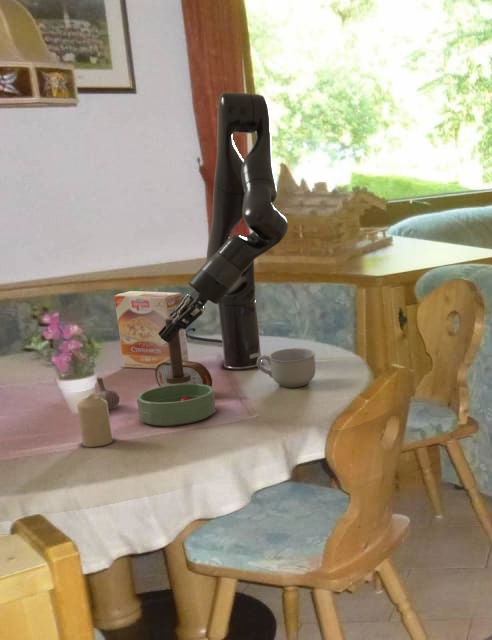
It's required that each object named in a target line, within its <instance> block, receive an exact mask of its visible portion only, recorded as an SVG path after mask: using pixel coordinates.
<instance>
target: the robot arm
mask: <svg viewBox="0 0 492 640" xmlns="http://www.w3.org/2000/svg"><path fill="white" fill-rule="evenodd" d="M216 114H217V117H216V119H217V120H216V121H217V122H216V126H217V127H216V128H217V130H216V132H217V133H216V135H217V136H216V137H217V138H216V139H217V140H216V141H217V142H216V145H217V147H216V160H215V169H214V170H215V171H214V179H213V190H212V191H213V193H212V200H213V201H212V216H211V225H210V229H209V230H210V231H209V236H208V241H207V247H206V248H207V249H206V262H204V264H203V265H202V266H201V267H200V268H199V270H197V272H196V273H195V274H194V275H193V276H192V277H191V278H190V280H189V281H188V285H189V286H190V287H191V288H193V291H192V292H191V293H190V294H186V295H184V296H181V298H182V299H181V301H180V302H179V303H178V305H177V306H176V308H175V309H174V311H173V312H172V313H171V314H170V318H175V319H174V320H173V321H172V323H171V324H170V325H169V326H168V327H167V328H166V325H165V326H164V327H163V328H162V329H161V330H160V332H159V333H158V334H159V336H160V337H161V339H163V340H164V341H166V342H170V341H171V340H172V339H173V338H174V336H175V335H176V334H177V333H178V332H179V331H180V330H182V329H185V330H186V329H187V330H186V331H185V332H186V338H188V339H190V340H196V341H202V342H210V343H219V344H221V345H222V353H223V361H224V362H223V363H224V364H223V367H224V368H225V369H227V370H232V371H237V370H238V371H241V370H250V369H255V368H258V366H257V359H258V358H259V357H260V356H262V353H261V342H260V331H259V321H258V311H257V302H256V278H255V277H256V275H255V260H256V259H257V258H258V257H260V256H262V255H264V254H265V253H266V252H268V251H269V250H271V249H272V248H274V247H275V246H277V245H278V244H279V243H280V242H282V240H283V239H284V238H285V236H286V235H287V233H288V229H289V222H288V220H287V218H286V217H285V216H284V215H283V214H281V213H280V211H278V210H277V208H275V207H274V205H273V203H274V202H275V201H276V200H277V196H278V191H277V190H278V189H277V184H276V179H275V175H274V169H273V161H272V159H273V158H272V157H273V156H272V133H271V115H270V108H269V104H268V101H267V99H266V97H264V95H262V94H258V93H257V94H256V93H248V92H234V91H224V92H222V93H221V94H220V95H219V97H218V102H217V113H216ZM235 133H237V134H253V135H254V134H256V138H255V141H254V143H253V146H252V147H251V149H250V151H249V152H248V154H247V155H246V156H245V158H244V159H243V158H242V155H241V154H240V153H239V151H238V148H237V147H236V145H235V142H234V140H233V134H235ZM242 220H243V221H244V223H245V225H246V227H248V228H249V230H251V231H252V232H251V233H249V234H248V235H246V236H241V235H238V234H232V233H233V231H234V229H235V228H236V227H237V226H238V225H239V223H240V222H241V221H242ZM208 301H209V302H211V303H212V304H214V305H217V306H218V307H217V308H218V316H219V325H220V334H221V339H217V338H207V337H201V336H194V335H190V332H191V331H192V332H195V331H196V328H195V326H191V324H193V322H195V321H196V320H197V319H198V318H200V317H201V316H202V315H203V312H204V310H205V305H206V304H207V302H208ZM172 324H173V325H172ZM189 326H190V327H189ZM188 327H189V328H188ZM179 329H180V330H179ZM261 364H262V365H263V359H262V360H261Z"/></svg>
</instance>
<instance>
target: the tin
mask: <svg viewBox="0 0 492 640" xmlns="http://www.w3.org/2000/svg"><path fill="white" fill-rule="evenodd" d="M182 362H183V371H184V373H189V374H190V375H191V380H190V381H188V382H185V383H179V384H189V383H192V384H203V385H208V386H211V387H213V378H212V374H211V372H210V371H209V370H208V368H207V366H205V365H204V364H203V363H200V362H198V361H191V360H189V361H183V360H182ZM154 374H155V379H156V383H157V385H158V387H161V386H166V385H174V384H170V383H167V382H166V376H167V375H170V374H172V371H171V363H170V359H168V360H166V361H165V362H162V363H160V364H159V365H158V366H157V367H156V369H154Z"/></svg>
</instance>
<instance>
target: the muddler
mask: <svg viewBox="0 0 492 640" xmlns="http://www.w3.org/2000/svg"><path fill="white" fill-rule="evenodd" d="M174 319H175V318H167V319H165V322H166V328H167V327H168V326H169V325H170V324H171V323H172V321H173V320H174ZM172 325H173V324H172ZM168 347H169V355H170V363H171V371H172V374H170V375H167V376H166V382H167V383H170V384H179V383H185V382H188V381H190V380H191V375H190V374H189V373H184V371H183V362H182V354H181V346H180V338H179V332H178V333H177V334H176V335H175V336H174V338H173V339H172V340H171V341H170V342H168Z"/></svg>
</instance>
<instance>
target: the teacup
mask: <svg viewBox="0 0 492 640" xmlns="http://www.w3.org/2000/svg"><path fill="white" fill-rule="evenodd" d="M315 356H316V352H315V351H314V350H312V349H309V348H302V347H301V348H300V347H298V348H297V347H293V348H284V349H280V350H276V351H273V352H272V353H270V354H269V355H267V354H261V356H260V357H259V358H258V359H257V366H258V367H257V368H258V370H260V371H261V372H262V373H264V374H266V375H268V376H269V377H270V378H271V379H272V380H273V381H274V382H275V383H277V384H278V385H279V386H281V387H284V388H300V387H303V386H306V385H307V384H309V383H310V381H312V380H313V379H314V377H315V375H316V359H315ZM261 360H262V361H263V360H266V361H267V362H268V364H269V366H270V369H268V368H266V367H265V366H264V365H263V363H262V364H261Z"/></svg>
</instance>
